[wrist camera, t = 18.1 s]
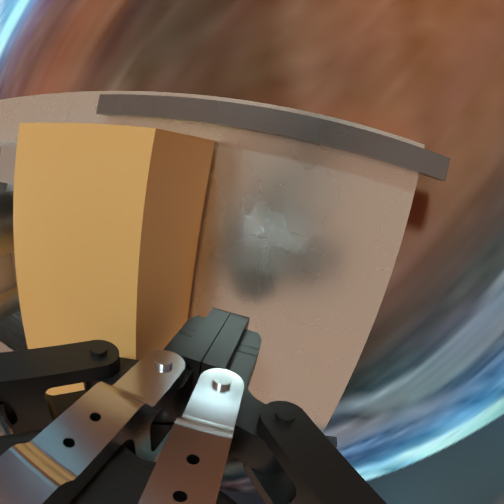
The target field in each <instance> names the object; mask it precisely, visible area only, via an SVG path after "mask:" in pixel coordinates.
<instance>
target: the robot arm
mask: <svg viewBox="0 0 504 504" xmlns="http://www.w3.org/2000/svg"><path fill="white" fill-rule="evenodd" d="M249 319H250V318H249V317H246V316H242V315H238V314H235V313H231V312H227V311H224V310H220V309H217V308H213V309H212V310H211V311H210V313H209V314H208V315H207V317H206V318H205V317H201V316H195V317H193V318H191V319H189V320H187V322H186V323H185V324H184V325H183V326H182V328H181V329H180V330H179V331H178V333H177V334H176V335H175V336H174V337H173V338H172V340H171V341H170V342H169V343H168V344H167V346H166V347H165V348H164V349H163V350H156V351H152V352H149V353H147V354H146V355H145V356H144V357H143V358H142V359H141V360H135V359H129V358H123V357H119V350H118V348H117V347H116V346H115V345H114V344H113V343H111V342H108V341H105V340H91V341H84V342H78V343H71V344H64V345H57V346H50V347H43V348H35V349H27V350H19V351H10V352H1V353H0V504H237V503H236V502H235V501H233V500H232V499H231V498H230V497H228V496H227V495H226V494H224V493H223V492H221V491H220V490H219V489H220V485H221V481H222V477H223V473H224V469H225V465H226V461H227V457H228V454H229V455H231V456H232V457H234V458H236V459H237V460H239V461H241V462H242V463H244V469H245V472H246V473H247V475H248V477H249V478H250V480H251V482H252V483H253V485H254V486H255V488H256V490H257V491H258V493H259V494H260V496H261V497H262V499H263V500H264V502H265V504H386V503H385V501H384V500H383V499H382V498H381V497H380V496H379V495H378V494H377V493H376V492H375V491H374V490H373V489H372V488H371V487H370V485H369V484H368V483H367V482H366V481H365V480H364V479H363V478H362V477H361V476H360V475H359V474H358V472H357V471H356V470H355V469H354V468H353V467H352V466H351V465H350V464H349V462H348V461H347V460H346V459H345V458H344V457H343V456H342V455H341V453H340V452H339V451H338V450H337V449H336V448H335V447H334V445H333V444H332V443H331V442H330V441H329V440H328V439H327V437H326V436H325V435H324V434H323V433H322V432H321V430H320V429H319V428H318V427H317V426H316V425H315V423H314V422H313V421H312V420H311V419H310V417H309V416H308V415H307V414H306V413H305V411H304V410H303V409H302V408H300V407H299V406H297V405H296V404H293V403H291V402H287V401H272V402H269V403H267V404H265V403H263V402H261V401H259V400H258V399H256V398H255V397H254V396H253V395H252V394H251V393H250V391H249V389H248V387H249V384H250V381H251V378H252V375H253V372H254V369H255V365H256V361H257V357H258V354H259V350H260V346H261V342H262V340H261V338H260V335H259V333H258V332H254V331H250V330H247V329H248V325H249ZM82 382H83V383H84V389H85V390H81V391H76V392H70V393H65V394H59V395H48V394H47V393H46V391H47V390H48V389H50V388H53V387H59V386H65V385H71V384H77V383H82ZM184 411H185V412H184ZM183 413H184V414H183ZM182 415H183V416H182ZM181 416H182V417H181ZM161 450H162V451H161ZM160 452H161V454H160V456H159V458H158V460H157V462H154V461H155V459H156V457H157V456H158V454H159V453H160Z"/></svg>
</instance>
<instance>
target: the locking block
mask: <svg viewBox="0 0 504 504" xmlns="http://www.w3.org/2000/svg"><path fill="white" fill-rule="evenodd" d="M214 145H215V141H213V140H209V139H204V138H200V137H196V136H191V135H186V134H182V133H177V132H172V131H167V130H162V129H157V128H148V127H136V126H124V125H109V124H89V123H20V126H19V133H18V141H17V150H16V160H15V173H14V194H13V233H14V254H15V267H16V278H17V287H18V295H19V302H20V309H21V315H22V321H23V327H24V332H25V337H26V342H27V347H28V349H35V348H43V347H50V346H57V345H64V344H71V343H78V342H84V341H91V340H105V341H108V342H111V343H113V344H114V345H115V346H116V347H117V348H118V350H119V357H123V358H129V359H135V360H141V359H142V358H143V357H144V356H145V355H146V354H147V353H149V352H152V351H156V350H163V349H164V348H165V347H166V346H167V344H168V343H169V342H170V341H171V340H172V338H173V337H174V336H175V335H176V334H177V333H178V331H179V330H180V329H181V328H182V326H183V325H184V324H185V323H186V322H187V320H188V312H189V304H190V296H191V288H192V280H193V273H194V266H195V259H196V252H197V245H198V238H199V232H200V225H201V219H202V213H203V207H204V201H205V195H206V189H207V183H208V177H209V172H210V166H211V161H212V155H213V150H214ZM81 390H85V389H84V383H83V382H82V383H77V384H71V385H65V386H59V387H53V388H50V389H48V390H47V391H46V393H47V394H48V395H59V394H65V393H70V392H76V391H81Z"/></svg>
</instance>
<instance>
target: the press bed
mask: <svg viewBox="0 0 504 504" xmlns="http://www.w3.org/2000/svg"><path fill="white" fill-rule="evenodd" d="M20 123H89V124H109V125H124V126H136V127H148V128H157V129H162V130H167V131H172V132H177V133H182V134H186V135H191V136H196V137H200V138H204V139H209V140H213V141H215V145H214V150H213V155H212V161H211V166H210V172H209V177H208V183H207V189H206V195H205V201H204V207H203V213H202V219H201V225H200V232H199V238H198V245H197V252H196V259H195V266H194V273H193V280H192V288H191V296H190V304H189V312H188V320H189V319H191V318H193V317H195V316H201V317H205V318H206V317H207V315H208V314H209V313H210V311H211V310H212V309H213V308H217V309H220V310H224V311H227V312H231V313H235V314H238V315H242V316H246V317H249V318H250V319H249V325H248V329H247V330H250V331H254V332H258V333H259V335H260V338H261V340H262V342H261V346H260V350H259V354H258V357H257V361H256V365H255V369H254V372H253V375H252V378H251V381H250V384H249V387H248V389H249V391H250V393H251V394H252V395H253V396H254V397H255V398H256V399H258V400H259V401H261V402H263V403H265V404H267V403H269V402H272V401H287V402H291V403H293V404H296V405H297V406H299V407H300V408H302V409H303V410H304V411H305V413H306V414H307V415H308V416H309V417H310V419H311V420H312V421H313V422H314V423H315V425H316V426H317V427H318V428H319V429H320V430H321V432H322V433H323V431H324V429H325V427H326V426H327V424H328V422H329V420H330V418H331V416H332V414H333V412H334V410H335V408H336V406H337V404H338V402H339V400H340V398H341V396H342V394H343V392H344V390H345V388H346V386H347V384H348V382H349V379H350V377H351V375H352V373H353V371H354V368H355V366H356V364H357V362H358V359H359V357H360V355H361V353H362V350H363V348H364V345H365V343H366V341H367V338H368V336H369V333H370V331H371V328H372V326H373V323H374V321H375V318H376V316H377V313H378V310H379V308H380V305H381V302H382V299H383V297H384V294H385V291H386V288H387V285H388V282H389V279H390V277H391V274H392V270H393V267H394V264H395V261H396V258H397V255H398V252H399V248H400V245H401V242H402V238H403V235H404V231H405V228H406V224H407V220H408V217H409V213H410V209H411V205H412V201H413V197H414V193H415V189H416V185H417V180H418V176H419V173H420V174H422V175H425V176H428V177H431V178H434V179H437V180H441V181H446V176H447V171H448V167H449V161H450V158H448V157H445V156H443V155H440V154H437V153H435V152H432V151H429V150H426V149H424V146H425V145H424V144H421V143H418V142H415V141H412V140H409V139H406V138H403V137H400V136H397V135H394V134H391V133H388V132H384V131H381V130H378V129H374V128H371V127H367V126H364V125H360V124H357V123H353V122H349V121H345V120H341V119H337V118H333V117H329V116H325V115H321V114H316V113H312V112H307V111H302V110H298V109H293V108H287V107H282V106H277V105H271V104H265V103H259V102H253V101H246V100H239V99H231V98H223V97H215V96H205V95H195V94H183V93H168V92H147V91H88V92H67V93H53V94H42V95H32V96H24V97H16V98H9V99H2V100H0V193H5V192H10V191H14V173H15V160H16V150H17V141H18V133H19V126H20ZM27 349H28V347H27V342H26V337H25V332H24V327H23V321H22V315H21V310H19V311H17V312H16V313H14V314H12V315H11V316H9V317H7V318H6V319H4V320H2V321H1V322H0V353H1V352H10V351H19V350H27ZM184 412H185V411H184ZM183 414H184V413H183ZM182 416H183V415H182ZM182 416H181V417H182ZM326 437H327V439H328V440H329V441H330V442H331V443H332V444H333V445H334V447H335V448H336V447H337V437H331V436H326Z"/></svg>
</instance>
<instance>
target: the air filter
mask: <svg viewBox="0 0 504 504" xmlns="http://www.w3.org/2000/svg"><path fill="white" fill-rule="evenodd" d="M13 194H14V191H10V192H5V193H0V322H1V321H2V320H4V319H6V318H7V317H9V316H11V315H12V314H14V313H16V312H17V311H19V310H21V309H20V302H19V295H18V287H17V278H16V267H15V254H14V233H13Z"/></svg>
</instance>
